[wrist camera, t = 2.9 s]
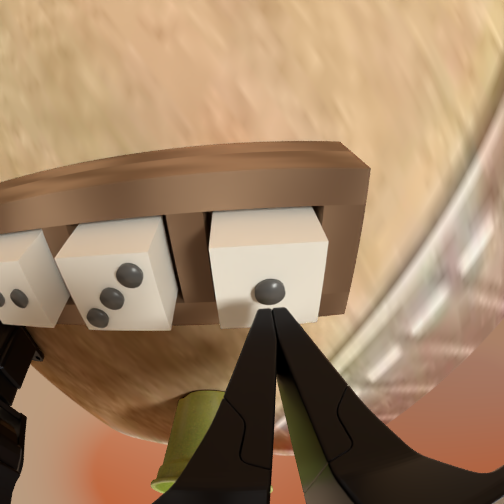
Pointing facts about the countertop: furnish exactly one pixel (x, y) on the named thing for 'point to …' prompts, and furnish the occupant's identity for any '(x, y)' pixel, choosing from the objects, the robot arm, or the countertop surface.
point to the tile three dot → (121, 274)
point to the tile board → (200, 206)
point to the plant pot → (187, 435)
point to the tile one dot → (267, 263)
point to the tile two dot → (29, 281)
